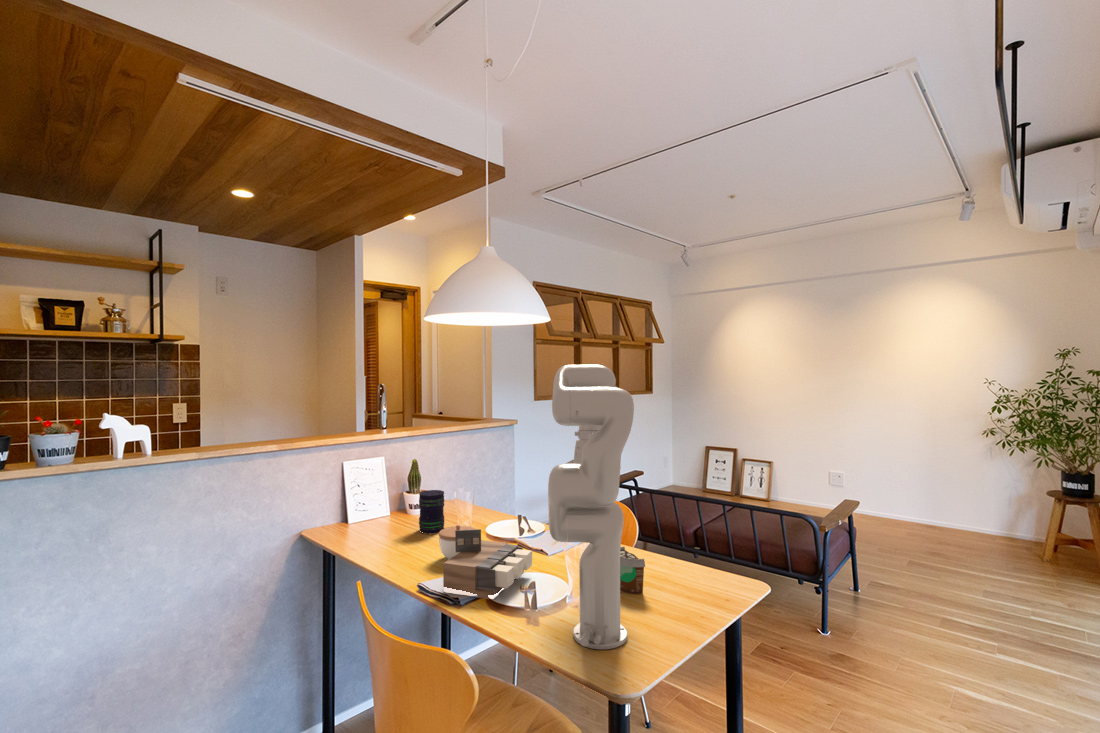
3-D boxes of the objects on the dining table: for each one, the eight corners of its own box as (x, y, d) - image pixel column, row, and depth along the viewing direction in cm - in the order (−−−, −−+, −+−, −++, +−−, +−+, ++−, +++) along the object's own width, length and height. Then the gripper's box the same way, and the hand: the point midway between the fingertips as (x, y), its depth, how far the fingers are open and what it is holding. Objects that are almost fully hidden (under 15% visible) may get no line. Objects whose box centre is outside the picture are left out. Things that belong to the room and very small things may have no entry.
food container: (605, 582, 154) (605, 548, 155) (623, 579, 157) (623, 545, 157) (625, 599, 143) (625, 562, 143) (645, 595, 145) (645, 559, 145)
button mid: (517, 578, 150) (517, 563, 150) (501, 576, 152) (501, 561, 152) (523, 573, 154) (523, 558, 154) (507, 571, 156) (507, 556, 156)
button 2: (526, 570, 156) (526, 555, 157) (511, 568, 158) (511, 553, 158) (532, 565, 161) (532, 550, 161) (517, 563, 162) (517, 549, 162)
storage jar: (415, 534, 203) (415, 495, 203) (422, 526, 213) (422, 489, 213) (441, 534, 203) (441, 495, 203) (447, 526, 213) (447, 489, 213)
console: (493, 600, 143) (492, 545, 143) (438, 591, 148) (438, 539, 149) (523, 571, 163) (523, 524, 164) (475, 565, 169) (475, 519, 169)
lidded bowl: (432, 557, 176) (432, 524, 177) (464, 549, 185) (464, 518, 185) (450, 568, 167) (450, 533, 167) (484, 559, 175) (484, 525, 175)
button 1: (507, 588, 143) (507, 572, 143) (490, 585, 145) (490, 569, 145) (513, 582, 147) (513, 566, 147) (497, 579, 149) (497, 564, 149)
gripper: (560, 436, 156) (560, 493, 156) (616, 438, 150) (617, 498, 149) (568, 433, 163) (569, 489, 163) (622, 435, 157) (623, 493, 156)
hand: (592, 493), depth 156 cm, fingers open, 9 cm apart
